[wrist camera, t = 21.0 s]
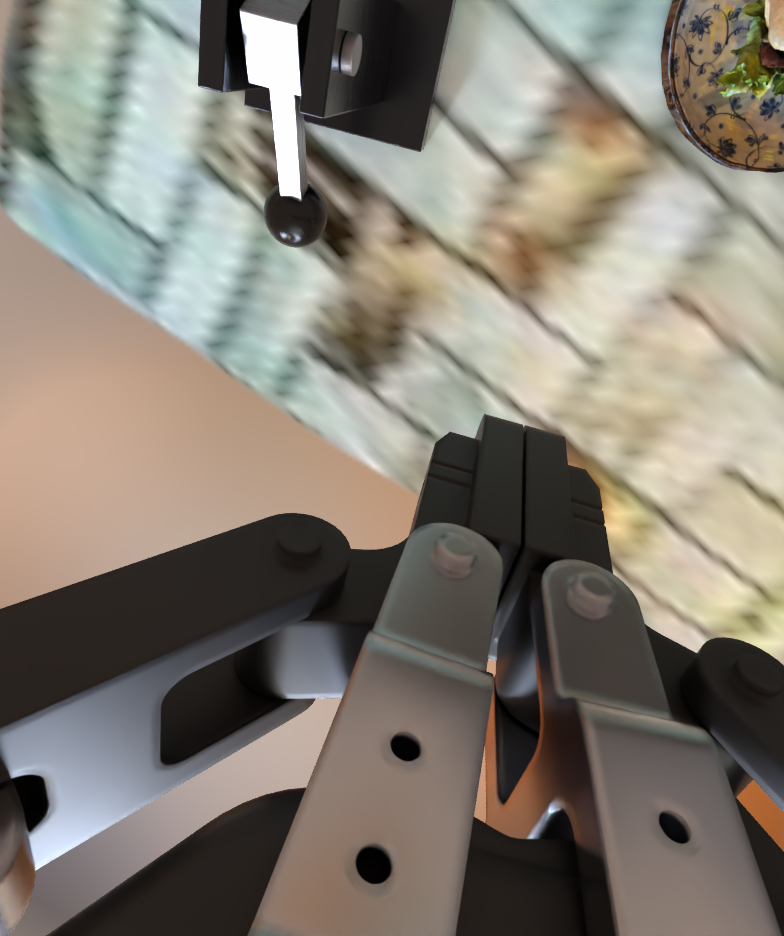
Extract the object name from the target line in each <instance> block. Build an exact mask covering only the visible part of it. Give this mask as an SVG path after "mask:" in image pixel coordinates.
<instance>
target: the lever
mask: <svg viewBox="0 0 784 936" xmlns="http://www.w3.org/2000/svg"><path fill="white" fill-rule="evenodd" d="M311 4H312V0H245V1H244V2H243V4H242V5H241V7H240V9H239V13H240V20H241V28H242V36H243V43H244V51H245V58H246V66H247V73H248V81H249V83H252V84H255V85H259V86H263V87H267V88H269V89H270V99H271V109H272V119H273V129H274V138H275V148H276V158H277V168H278V178H279V184H278V185H277V186H276V187H274V188H273V189H272V191H271V192H270V193H269V195H268V196H267V199H266V201H265V205H264V219H265V223H266V226H267V228H268V230H269V231H270V233H271V234H272V236H273V237H274V238H275V239H276V240H278V241H279V242H280V243H282V244H284V245H286V246H290V247H305V246H308V245H310V244H312V243H313V242H315V241H316V240H317V239H318V238H319V237H320V236H321V235H322V233H323V231H324V229H325V227H326V223H327V208H326V204H325V202H324V199H323V198H322V196H321V194H320V193H319V192H318V191H317V190H316V189H315V188H314V187H313V186H311V185H310V184H308V183H307V166H306V147H305V127H304V114H301V113H300V111H299V108H300V99H301V91H302V82H303V73H304V64H305V56H306V47H307V38H308V30H309V21H310V12H311Z"/></svg>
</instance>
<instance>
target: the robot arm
mask: <svg viewBox="0 0 784 936" xmlns="http://www.w3.org/2000/svg"><path fill="white" fill-rule="evenodd" d="M601 510H602V502H601V495H600V489H599V488H598V486H597V485H596V483H595V482H594V481H593V479H592V478H591V477H590V475H589V474H588V472H587V471H586V470H585V469H581V468H578V467H574V466H570V465H568V462H567V451H566V440H565V437H564V436H562V435H558V434H555V433H551V432H547V431H544V430H540V429H537V428H533V427H529V426H524V428H523V425H522V424H518V423H515V422H511V421H507V420H504V419H500V418H497V417H493V416H489V415H486V414H484V416H483V418H482V420H481V423H480V426H479V428H478V431H477V434H476V437H475V439H474V438H470V437H467V436H463V435H459V434H456V433H452V432H449V433H448V434H447V435H445V436H444V437H443V438H441V439H440V440H439V441H437V442H436V443H435V446H434V449H433V453H432V456H431V460H430V463H429V466H428V470H427V473H426V476H425V480H424V483H423V487H422V490H421V493H420V497H419V500H418V504H417V507H416V511H415V515H414V518H413V522H412V527H411V530H410V534H409V537H408V538H406V539H405V540H404V541H402V542H401V543H399V544H397V545H395V546H392V547H388V548H384V549H377V550H361V549H351V548H350V545H349V542H348V541H347V539H346V537H345V536H344V535H343V533H342V532H341V531H340V530H339V529H337V528H336V527H335V526H334V525H332V524H330V523H328V522H327V521H325V520H323V519H320V518H317V517H314V516H311V515H306V514H297V513H285V514H278V515H274V516H270V517H267V518H264V519H262V520H259V521H256V522H253V523H250V524H247V525H244V526H241V527H238V528H235V529H232V530H230V531H227V532H224V533H221V534H218V535H215V536H212V537H209V538H206V539H203V540H200V541H197V542H195V543H192V544H189V545H186V546H183V547H180V548H177V549H174V550H171V551H169V552H165V553H162V554H159V555H157V556H154V557H151V558H148V559H145V560H142V561H139V562H137V563H133V564H130V565H128V566H124V567H122V568H119V569H116V570H113V571H110V572H107V573H104V574H101V575H98V576H95V577H92V578H90V579H87V580H84V581H81V582H78V583H75V584H72V585H69V586H66V587H63V588H61V589H57V590H55V591H52V592H49V593H46V594H43V595H40V596H37V597H34V598H32V599H28V600H25V601H22V602H19V603H17V604H14V605H11V606H8V607H5V608H2V609H0V936H9V935H10V934H11V933H12V931H13V930H14V929H15V928H16V926H17V925H18V923H19V921H20V920H21V918H22V916H23V915H24V913H25V911H26V909H27V906H28V904H29V902H30V899H31V896H32V892H33V888H34V882H35V870H36V869H38V868H40V867H41V866H43V865H45V864H47V863H48V862H50V861H52V860H53V859H55V858H57V857H59V856H60V855H62V854H64V853H65V852H67V851H69V850H70V849H72V848H74V847H75V846H77V845H79V844H81V843H82V842H84V841H86V840H87V839H89V838H91V837H92V836H94V835H96V834H97V833H99V832H101V831H103V830H104V829H106V828H108V827H109V826H111V825H113V824H114V823H116V822H117V821H119V820H121V819H123V818H125V817H126V816H128V815H130V814H131V813H133V812H135V811H136V810H138V809H139V808H141V807H143V806H145V805H146V804H148V803H150V802H152V801H153V800H155V799H157V798H158V797H160V796H162V795H164V794H165V793H167V792H168V791H170V790H172V789H174V788H175V787H177V786H179V785H180V784H182V783H184V782H186V781H187V780H189V779H191V778H192V777H194V776H196V775H197V774H199V773H201V772H203V771H204V770H206V769H208V768H209V767H211V766H212V765H214V764H216V763H218V762H219V761H221V760H223V759H224V758H226V757H228V756H229V755H231V754H233V753H235V752H236V751H238V750H240V749H241V748H243V747H245V746H246V745H248V744H250V743H252V742H253V741H255V740H257V739H258V738H260V737H262V736H263V735H265V734H267V733H268V732H270V731H272V730H273V729H275V728H277V727H279V726H280V725H282V724H284V723H285V722H287V721H289V720H290V719H292V718H294V717H296V716H297V715H299V714H300V713H302V712H303V711H305V710H306V709H308V708H309V707H310V706H311V705H312V704H313V702H314V701H315V699H316V698H342V699H341V702H340V704H339V707H338V709H337V712H336V715H335V717H334V719H333V722H332V725H331V727H330V730H329V732H328V735H327V737H326V740H325V742H324V745H323V748H322V750H321V752H320V755H319V757H318V760H317V762H316V765H315V767H314V770H313V772H312V775H311V777H310V780H309V783H308V785H307V787H306V788H297V789H288V790H283V791H279V792H275V793H270V794H266V795H263V796H260V797H258V798H255V799H252V800H250V801H247V802H245V803H242V804H240V805H238V806H236V807H234V808H232V809H231V810H229V811H227V812H225V813H223V814H221V815H220V816H218V817H217V818H215V819H214V820H212V821H210V822H209V823H207V824H206V825H204V826H203V827H202V828H200V829H199V830H197V831H196V832H194V833H193V834H192V835H190V836H189V837H187V838H186V839H184V840H183V841H181V842H180V843H179V844H177V845H176V846H174V847H173V848H172V849H170V850H169V851H167V852H166V853H164V854H163V855H161V856H160V857H159V858H157V859H156V860H154V861H153V862H151V863H150V864H149V865H147V866H146V867H144V868H143V869H141V870H140V871H138V872H137V873H136V874H134V875H133V876H131V877H130V878H128V879H127V880H125V881H124V882H123V883H121V884H120V885H118V886H117V887H115V888H114V889H113V890H111V891H110V892H109V893H107V894H106V895H104V896H103V897H101V898H100V899H98V900H97V901H96V902H94V903H93V904H91V905H90V906H88V907H87V908H85V909H84V910H82V911H81V912H80V913H78V914H77V915H75V916H74V917H73V918H71V919H70V920H68V921H67V922H65V923H64V924H62V925H61V926H60V927H58V928H57V929H55V930H54V931H52V932H51V933H49V934H48V935H47V936H784V852H783V851H782V849H781V848H780V847H779V846H778V845H777V844H776V843H775V841H774V840H773V839H772V838H771V837H770V836H769V835H768V833H767V832H766V831H765V830H764V829H763V828H762V827H761V825H760V824H759V823H758V822H757V821H756V820H755V819H754V818H753V816H752V815H751V814H750V813H749V812H748V811H747V810H746V808H745V807H744V806H743V805H742V804H741V803H740V802H739V800H738V799H737V798H736V797H737V796H738V795H739V794H740V793H741V792H742V791H743V790H744V789H745V787H746V786H747V785H748V784H749V783H750V782H751V781H752V780H754V781H755V782H756V783H757V784H758V785H759V786H760V787H761V788H762V789H763V791H764V792H765V793H766V794H767V795H768V796H769V797H770V798H771V799H772V800H773V802H774V803H775V804H776V805H777V806H778V807H779V808H780V809H781V810H782V811H783V812H784V665H783V664H781V663H780V662H779V661H778V660H777V659H775V658H774V657H772V656H771V655H770V654H768V653H766V652H765V651H763V650H761V649H760V648H758V647H756V646H753V645H751V644H749V643H746V642H744V641H741V640H737V639H733V638H725V637H723V638H714V639H711V640H709V641H707V642H706V643H705V644H704V645H703V646H702V647H701V648H700V650H699V651H698V653H695V652H693V651H691V650H689V649H688V648H686V647H684V646H682V645H680V644H678V643H676V642H674V641H672V640H671V639H669V638H667V637H665V636H663V635H661V634H660V633H658V632H656V631H654V630H653V629H651V628H650V627H648V626H647V625H646V624H645V623H644V620H643V616H642V613H641V609H640V606H639V603H638V601H637V599H636V597H635V596H634V594H633V592H632V591H631V590H630V589H629V587H628V586H627V585H626V584H625V583H624V582H623V581H621V580H620V579H619V578H618V577H616V576H615V575H614V574H613V570H612V564H611V558H610V552H609V545H608V539H607V533H606V527H605V526H604V523H605V520H604V514H603V511H601ZM488 659H491V660H495V661H496V675H495V677H493V674H492V673H489V672H486V668H487V662H488ZM484 746H485V756H486V757H485V758H486V759H485V760H486V823H484V822H482V821H480V820H479V819H477V818H475V817H474V811H475V805H476V798H477V791H478V785H479V778H480V772H481V765H482V759H483V753H484Z"/></svg>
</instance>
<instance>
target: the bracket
mask: <svg viewBox="0 0 784 936" xmlns="http://www.w3.org/2000/svg"><path fill="white" fill-rule="evenodd" d="M244 1H245V0H201V13H200V46H199V73H198V86H199V87H202V88H206V89H210V90H214V91H217V92H221V93H222V92H232V91H242V90H246V91H245V106H248V107H252V108H256V109H259V110H263V111H267V112H271V113H272V109H271V99H270V89H269V88H267V87H263V86H259V85H255V84H252V83H249V81H248V73H247V66H246V58H245V51H244V43H243V36H242V28H241V20H240V13H239V9H240V7H241V5H242V4H243V2H244ZM455 2H456V0H312V4H311V12H310V21H309V30H308V38H307V47H306V56H305V64H304V73H303V82H302V91H301V99H300V108H299V111H300V113H301V114H304V121H305V122H308V123H312V124H316V125H320V126H324V127H327V128H331V129H335V130H339V131H342V132H346V133H350V134H354V135H358V136H361V137H365V138H369V139H373V140H376V141H380V142H384V143H388V144H392V145H395V146H399V147H403V148H407V149H410V150H414V151H418V152H421V151H422V150H423V149H424V145H425V140H426V136H427V131H428V126H429V122H430V117H431V113H432V108H433V103H434V99H435V94H436V90H437V85H438V80H439V76H440V71H441V67H442V62H443V57H444V53H445V48H446V44H447V39H448V34H449V30H450V25H451V21H452V16H453V11H454V7H455Z"/></svg>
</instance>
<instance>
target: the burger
mask: <svg viewBox="0 0 784 936" xmlns="http://www.w3.org/2000/svg"><path fill="white" fill-rule="evenodd" d="M661 67H662V85H663V89H664V93H665V97H666V101H667V105H668V108H669V110H670V112H671V114H672V116H673V118H674V120H675V122H676V124H677V126H678V128H679V130H680V131H681V132H682V134H683V135H684V136H685V137H686V138H687V139H688V140H689V141H690V142H691V143H692V144H693V145H694V146H696V147H697V148H698V149H699V150H700V151H702V152H703V153H704V154H706V155H707V156H709V157H710V158H711V159H713V160H714V161H715V162H717V163H719V164H721V165H724V166H726V167H729V168H731V169H734V170H747V171H763V172H774V173H776V172H783V171H784V0H673V3H672V6H671V9H670V12H669V16H668V19H667V22H666V26H665V31H664V38H663V45H662V53H661Z"/></svg>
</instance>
